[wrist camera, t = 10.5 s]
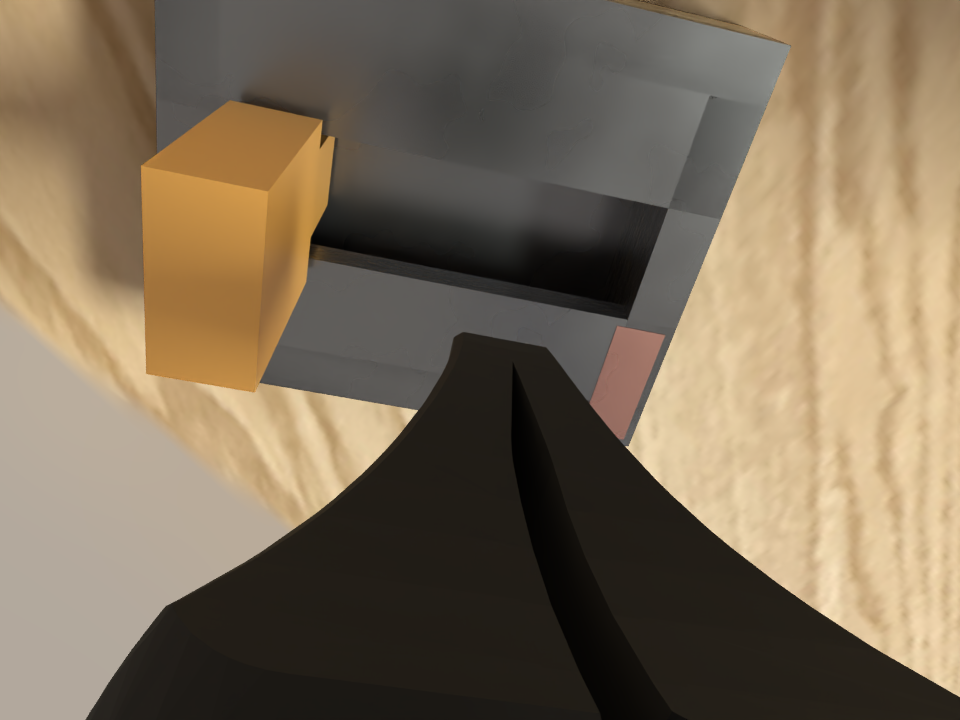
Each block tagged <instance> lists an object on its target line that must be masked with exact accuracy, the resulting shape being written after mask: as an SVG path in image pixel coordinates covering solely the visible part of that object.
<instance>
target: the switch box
mask: <svg viewBox="0 0 960 720" xmlns="http://www.w3.org/2000/svg"><path fill="white" fill-rule="evenodd" d="M790 47H791V45H788V44H786V43H783V42H781V41H778V40H776V39H773V38H771V37H768V36H766V35H763V34H761V33H758V32H756V31H753V30H751V29H748V28H746V27H743V26H740V25H736V24H732V23H728V22H724V21H720V20H716V19H711V18H707V17H703V16H699V15H695V14H691V13H687V12H683V11H679V10H675V9H671V8H667V7H663V6H659V5H655V4H651V3H647V2H642V1H638V0H155V52H156V122H157V154H158V153H159V152H160V151H162V150H163V149H164V148H166V147H167V146H168V145H170V144H171V143H173V142H174V141H175V140H177V139H178V138H179V137H181V136H182V135H183V134H185V133H186V132H187V131H189V130H190V129H191V128H193V127H194V126H196V125H197V124H198V123H200V122H201V121H202V120H204V119H205V118H206V117H208V116H209V115H210V114H212V113H213V112H214V111H216V110H217V109H219V108H220V107H221V106H223V105H224V104H225V103H227V102H228V101H229V100H232V101H237V102H241V103H246V104H250V105H255V106H260V107H264V108H269V109H274V110H278V111H283V112H288V113H292V114H297V115H302V116H306V117H311V118H315V119H320V120H323V121H322V131H321V134H322V135H327V136H331V137H335V141H334V150H333V159H332V168H331V177H330V186H329V195H328V204H327V207H326V209H325V211H324V212H323V214H322V216H321V218H320V220H319V222H318V224H317V226H316V228H315V230H314V232H313V234H312V236H311V239H310V249H309V259H308V269H307V279H306V284H305V286H304V288H303V290H302V292H301V294H300V297H299V299H298V301H297V303H296V305H295V307H294V309H293V312H292V314H291V316H290V318H289V320H288V322H287V324H286V327H285V329H284V331H283V333H282V335H281V337H280V339H279V342H278V344H277V346H276V348H275V350H274V352H273V354H272V357H271V359H270V361H269V363H268V365H267V367H266V370H265V372H264V374H263V376H262V378H261V380H260V382H259V383H264V384H269V385H275V386H281V387H287V388H293V389H298V390H304V391H310V392H316V393H322V394H327V395H333V396H339V397H345V398H351V399H356V400H362V401H368V402H374V403H380V404H385V405H391V406H397V407H403V408H409V409H414V410H419V409H420V408H421V406H422V405H423V403H424V402H425V401H426V399H427V398H428V396H429V394H430V393H431V391H432V389H433V388H434V386H435V385H436V383H437V381H438V380H439V378H440V376H441V375H442V373H443V371H444V369H445V367H446V365H447V363H448V360H449V355H450V351H451V347H452V342H453V338H454V337H455V336H457V335H458V334H460V333H462V332H467V333H472V334H478V335H483V336H489V337H494V338H499V339H505V340H510V341H515V342H521V343H526V344H532V345H537V346H542V347H547V349H548V350H549V351H550V352H551V353H552V355H553V356H554V357H555V359H556V360H557V361H558V363H559V364H560V365H561V367H562V368H563V369H564V371H565V372H566V373H567V375H568V376H569V377H570V379H571V380H572V381H573V383H574V384H575V385H576V387H577V388H578V389H579V390H580V392H581V393H582V394H583V396H584V397H585V398H586V400H587V401H588V402H589V403H590V405H591V406H592V407H593V409H594V410H595V411H596V412H597V414H598V415H599V416H600V417H601V419H602V420H603V421H604V422H605V424H606V425H607V426H608V427H609V428H610V430H611V431H612V432H613V433H614V434H615V435H616V437H617V438H618V439H619V440H620V441H621V442H622V444H623V445H624V446H629V443H630V441H631V438H632V436H633V434H634V431H635V429H636V426H637V424H638V421H639V419H640V416H641V414H642V411H643V409H644V406H645V404H646V402H647V399H648V397H649V394H650V392H651V389H652V387H653V384H654V382H655V379H656V377H657V374H658V372H659V370H660V367H661V365H662V362H663V360H664V357H665V355H666V352H667V350H668V347H669V345H670V342H671V340H672V338H673V335H674V333H675V330H676V328H677V325H678V323H679V320H680V318H681V315H682V313H683V311H684V308H685V306H686V303H687V301H688V298H689V296H690V293H691V291H692V288H693V286H694V283H695V281H696V279H697V276H698V274H699V271H700V269H701V266H702V264H703V261H704V259H705V256H706V254H707V251H708V249H709V247H710V244H711V242H712V239H713V237H714V234H715V232H716V229H717V227H718V224H719V222H720V219H721V217H722V215H723V212H724V210H725V207H726V205H727V202H728V200H729V197H730V195H731V192H732V190H733V187H734V185H735V183H736V180H737V178H738V175H739V173H740V170H741V168H742V165H743V163H744V160H745V158H746V155H747V153H748V151H749V148H750V146H751V143H752V141H753V138H754V136H755V133H756V131H757V128H758V126H759V124H760V121H761V119H762V116H763V114H764V111H765V109H766V106H767V104H768V101H769V99H770V96H771V94H772V92H773V89H774V87H775V84H776V82H777V79H778V77H779V74H780V72H781V69H782V67H783V64H784V62H785V60H786V57H787V55H788V52H789V50H790Z"/></svg>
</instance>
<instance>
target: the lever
mask: <svg viewBox="0 0 960 720" xmlns="http://www.w3.org/2000/svg"><path fill="white" fill-rule="evenodd" d="M322 121H323V120H320V119H315V118H311V117H306V116H302V115H297V114H292V113H288V112H283V111H278V110H274V109H269V108H264V107H260V106H255V105H250V104H246V103H241V102H237V101H232V100H229V101H228V102H227V103H225V104H224V105H223V106H221V107H220V108H219V109H217V110H216V111H214V112H213V113H212V114H210V115H209V116H208V117H206V118H205V119H204V120H202V121H201V122H200V123H198V124H197V125H196V126H194V127H193V128H191V129H190V130H189V131H187V132H186V133H185V134H183V135H182V136H181V137H179V138H178V139H177V140H175V141H174V142H173V143H171V144H170V145H168V146H167V147H166V148H164V149H163V150H162V151H160V152H159V153H158V154H156V155H155V156H154V157H152V158H151V159H150V160H148V161H147V162H145V163H144V164H143V165H141V188H142V227H143V265H144V303H145V342H146V374H150V375H156V376H162V377H167V378H173V379H179V380H185V381H191V382H197V383H203V384H208V385H214V386H220V387H226V388H232V389H238V390H244V391H249V392H255V391H256V389H257V387H258V385H259V382H260V380H261V378H262V376H263V374H264V372H265V370H266V367H267V365H268V363H269V361H270V359H271V357H272V354H273V352H274V350H275V348H276V346H277V344H278V342H279V339H280V337H281V335H282V333H283V331H284V329H285V327H286V324H287V322H288V320H289V318H290V316H291V314H292V312H293V309H294V307H295V305H296V303H297V301H298V299H299V297H300V294H301V292H302V290H303V288H304V286H305V284H306V279H307V269H308V259H309V249H310V239H311V236H312V234H313V232H314V230H315V228H316V226H317V224H318V222H319V220H320V218H321V216H322V214H323V212H324V211H325V209H326V207H327V204H328V195H329V186H330V177H331V168H332V159H333V150H334V141H335V137H331V136H327V135H322V134H321V131H322Z"/></svg>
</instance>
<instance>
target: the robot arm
mask: <svg viewBox="0 0 960 720" xmlns="http://www.w3.org/2000/svg"><path fill="white" fill-rule="evenodd" d="M86 720H960V697H958V696H957V695H955V694H953V693H951V692H950V691H948V690H946V689H944V688H943V687H941V686H939V685H937V684H936V683H934V682H932V681H930V680H929V679H927V678H925V677H923V676H922V675H920V674H918V673H916V672H915V671H913V670H911V669H909V668H908V667H906V666H904V665H902V664H901V663H899V662H897V661H896V660H894V659H892V658H890V657H889V656H887V655H885V654H883V653H882V652H880V651H878V650H877V649H875V648H873V647H872V646H870V645H869V644H867V643H865V642H864V641H862V640H861V639H859V638H858V637H856V636H855V635H853V634H852V633H850V632H848V631H847V630H845V629H844V628H842V627H841V626H839V625H838V624H836V623H835V622H833V621H832V620H830V619H829V618H827V617H826V616H824V615H823V614H821V613H819V612H818V611H816V610H815V609H813V608H812V607H810V606H809V605H808V604H806V603H805V602H803V601H802V600H800V599H799V598H798V597H796V596H795V595H793V594H792V593H791V592H789V591H788V590H786V589H785V588H783V587H782V586H781V585H779V584H778V583H776V582H775V581H774V580H772V579H771V578H770V577H769V576H767V575H766V574H765V573H763V572H762V571H761V570H759V569H758V568H757V567H756V566H754V565H753V564H752V563H750V562H749V561H748V560H746V559H745V558H744V557H743V556H741V555H740V554H739V553H737V552H736V551H735V550H734V549H732V548H731V547H730V546H729V545H727V544H726V543H725V542H724V541H723V540H721V539H720V538H719V537H718V536H716V535H715V534H714V533H713V532H712V531H710V530H709V529H708V528H707V527H706V526H705V525H704V524H703V523H701V522H700V521H699V520H698V519H697V518H696V517H695V516H694V515H693V514H692V513H690V512H689V511H688V510H687V509H686V508H685V507H684V506H683V505H682V504H681V503H680V502H678V501H677V500H676V499H675V498H674V497H673V496H672V495H671V494H670V493H669V492H668V491H667V490H666V489H665V488H664V487H663V486H662V485H661V484H660V483H659V482H658V481H657V480H656V479H655V478H654V477H653V476H652V475H651V474H650V473H649V472H648V471H647V470H646V469H645V468H644V467H643V465H642V464H641V463H640V462H639V461H638V460H637V459H636V458H635V457H634V456H633V455H632V454H631V453H630V451H629V450H628V449H627V448H626V447H625V446H624V445H623V444H622V442H621V441H620V440H619V439H618V438H617V437H616V435H615V434H614V433H613V432H612V431H611V430H610V428H609V427H608V426H607V425H606V424H605V422H604V421H603V420H602V419H601V417H600V416H599V415H598V414H597V412H596V411H595V410H594V409H593V407H592V406H591V405H590V403H589V402H588V401H587V400H586V398H585V397H584V396H583V394H582V393H581V392H580V390H579V389H578V388H577V387H576V385H575V384H574V383H573V381H572V380H571V379H570V377H569V376H568V375H567V373H566V372H565V371H564V369H563V368H562V367H561V365H560V364H559V363H558V361H557V360H556V359H555V357H554V356H553V355H552V353H551V352H550V351H549V350H548V349H547V347H542V346H537V345H532V344H526V343H521V342H515V341H510V340H505V339H499V338H494V337H489V336H483V335H478V334H472V333H467V332H462V333H460V334H458V335H457V336H455V337H454V338H453V342H452V347H451V351H450V355H449V360H448V363H447V365H446V367H445V369H444V371H443V373H442V375H441V376H440V378H439V380H438V381H437V383H436V385H435V386H434V388H433V389H432V391H431V393H430V394H429V396H428V398H427V399H426V401H425V402H424V403H423V405H422V406H421V408H420V409H419V410H418V411H417V413H416V414H415V415H414V417H413V418H412V419H411V421H410V422H409V423H408V424H407V426H406V427H405V428H404V430H403V431H402V432H401V433H400V435H399V436H398V437H397V438H396V439H395V440H394V442H393V443H392V444H391V445H390V446H389V447H388V448H387V449H386V450H385V452H384V453H383V454H382V455H381V456H380V457H379V458H378V459H377V460H376V461H375V462H374V463H373V464H372V465H371V466H370V467H369V468H368V469H367V470H366V471H365V472H364V473H363V474H362V475H361V476H359V477H358V478H357V479H356V480H355V481H354V482H353V483H352V484H350V485H349V486H348V487H347V488H346V489H345V490H344V491H343V492H341V493H340V494H339V495H338V496H337V497H336V498H335V499H333V500H332V501H331V502H330V503H329V504H327V505H326V506H325V507H324V508H322V509H321V510H320V511H319V512H317V513H316V514H315V515H313V516H312V517H311V518H309V519H308V520H306V521H305V522H303V523H302V524H301V525H299V526H298V527H296V528H295V529H293V530H292V531H291V532H289V533H288V534H286V535H285V536H284V537H282V538H281V539H279V540H278V541H276V542H275V543H273V544H272V545H271V546H269V547H268V548H266V549H265V550H264V551H262V552H261V553H259V554H257V555H256V556H254V557H253V558H251V559H249V560H248V561H246V562H245V563H243V564H241V565H239V566H237V567H236V568H234V569H232V570H230V571H229V572H227V573H225V574H223V575H222V576H220V577H218V578H216V579H214V580H213V581H211V582H209V583H207V584H206V585H204V586H202V587H200V588H199V589H197V590H195V591H193V592H192V593H190V594H188V595H186V596H184V597H183V598H181V599H179V600H177V601H175V602H173V603H171V604H169V605H167V606H166V607H165V608H164V609H163V610H162V612H161V613H160V614H159V615H158V617H157V618H156V619H155V620H154V621H153V623H152V624H151V625H150V627H149V628H148V629H147V631H146V632H145V633H144V634H143V636H142V637H141V638H140V640H139V641H138V642H137V644H136V645H135V646H134V648H133V649H132V650H131V652H130V653H129V654H128V656H127V657H126V659H125V660H124V662H123V663H122V665H121V666H120V667H119V669H118V670H117V672H116V673H115V674H114V676H113V677H112V679H111V680H110V682H109V683H108V685H107V687H106V688H105V690H104V691H103V693H102V695H101V696H100V698H99V699H98V701H97V703H96V704H95V706H94V707H93V709H92V710H91V712H90V713H89V715H88V717H87V718H86Z"/></svg>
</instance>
